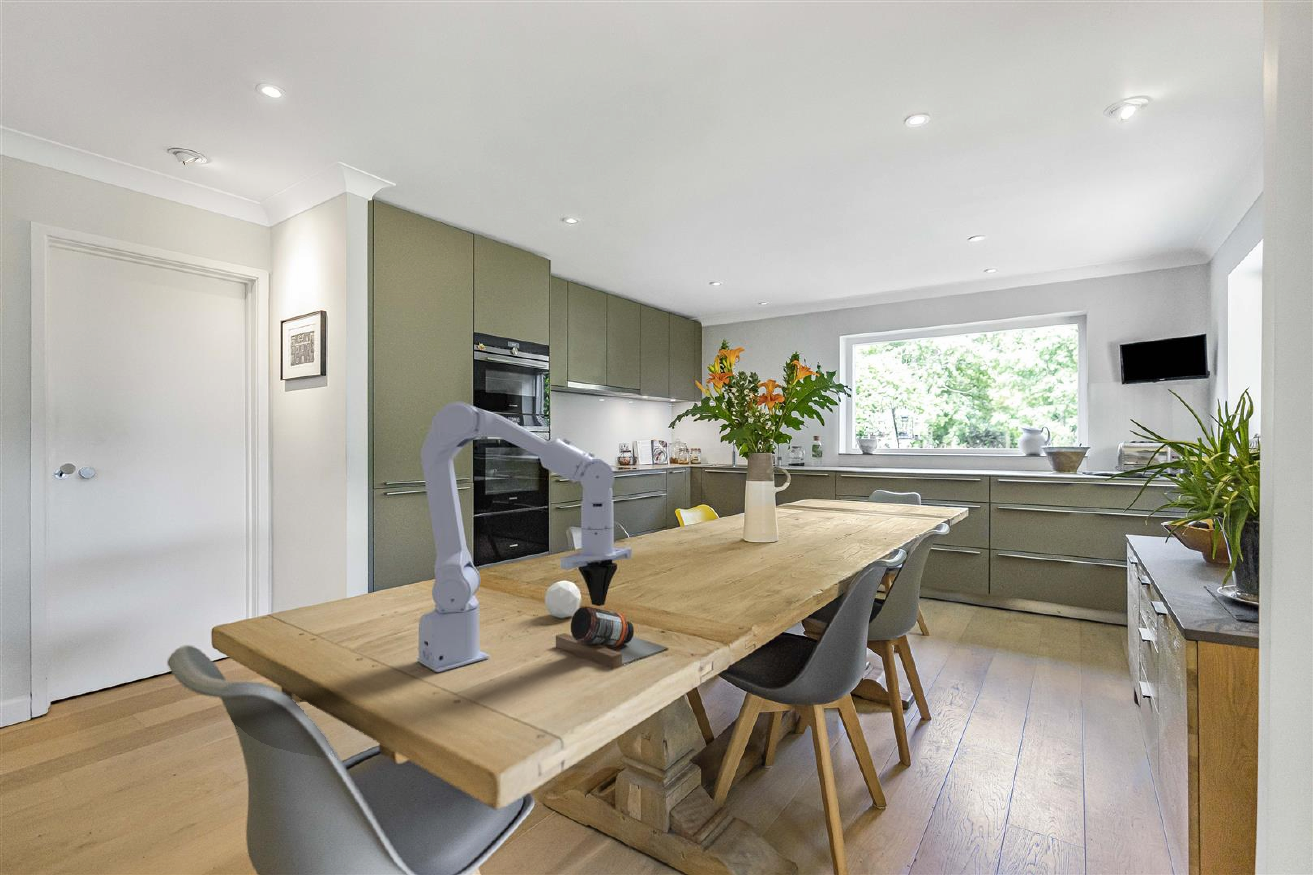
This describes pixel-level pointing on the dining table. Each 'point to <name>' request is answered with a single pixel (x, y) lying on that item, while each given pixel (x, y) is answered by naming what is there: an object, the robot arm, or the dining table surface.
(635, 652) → the stop bar and mat
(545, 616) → the dining table surface
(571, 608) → the geometric ball
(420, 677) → the dining table surface
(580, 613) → the supplement bottle
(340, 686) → the dining table surface
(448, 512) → the robot arm
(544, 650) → the dining table surface
